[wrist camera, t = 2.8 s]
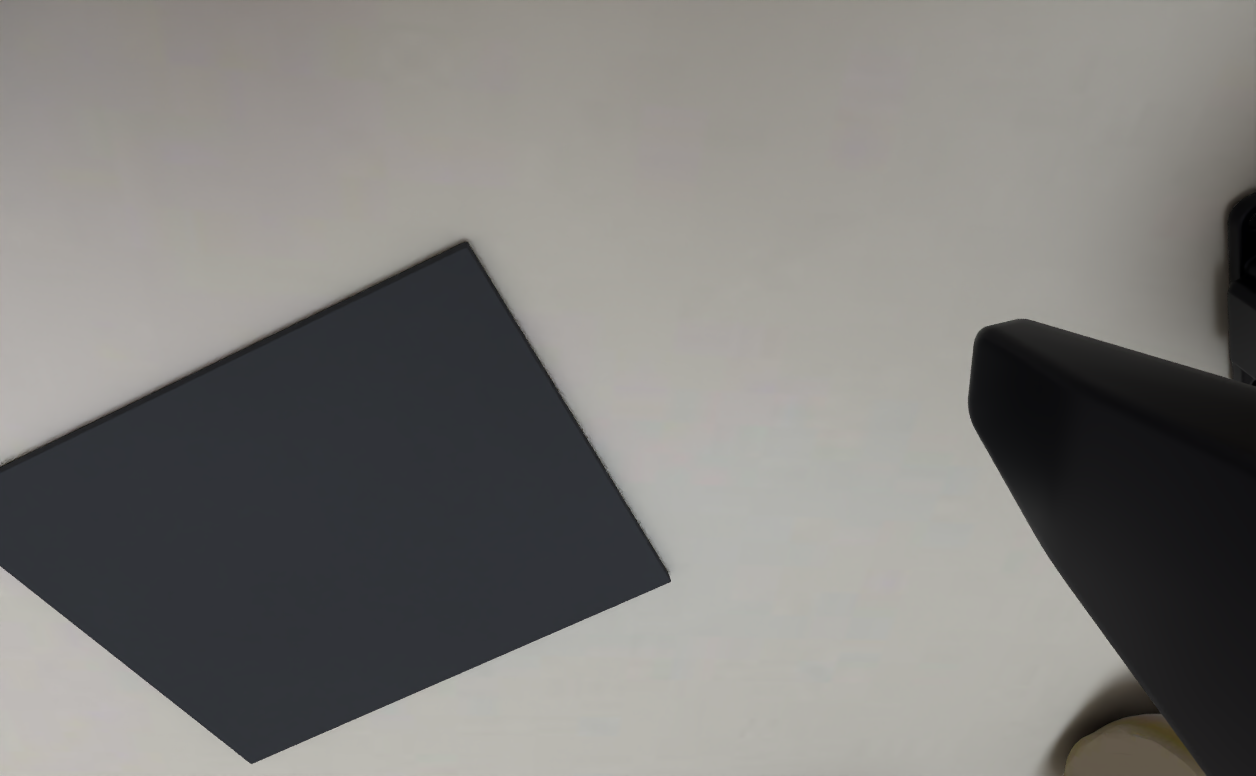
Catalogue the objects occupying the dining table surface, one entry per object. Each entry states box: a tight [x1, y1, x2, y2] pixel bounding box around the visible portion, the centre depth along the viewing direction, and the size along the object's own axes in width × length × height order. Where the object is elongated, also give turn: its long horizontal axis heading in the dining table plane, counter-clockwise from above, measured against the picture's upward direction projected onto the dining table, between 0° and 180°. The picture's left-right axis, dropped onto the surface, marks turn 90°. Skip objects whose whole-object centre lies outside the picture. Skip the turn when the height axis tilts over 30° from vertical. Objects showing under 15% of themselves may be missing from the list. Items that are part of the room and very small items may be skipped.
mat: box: [0, 242, 671, 764], centre depth 24 cm, size 14×12×1 cm
